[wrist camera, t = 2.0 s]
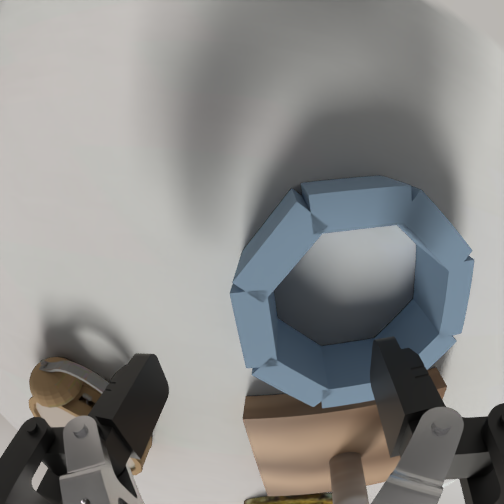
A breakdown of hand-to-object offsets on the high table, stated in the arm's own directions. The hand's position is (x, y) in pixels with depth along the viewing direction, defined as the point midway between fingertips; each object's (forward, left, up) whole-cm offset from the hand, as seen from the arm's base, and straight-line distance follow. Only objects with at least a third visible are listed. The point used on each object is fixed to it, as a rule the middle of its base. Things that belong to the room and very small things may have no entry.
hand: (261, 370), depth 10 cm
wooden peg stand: (+14, +4, -5) cm, 15 cm away
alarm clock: (+10, -16, -6) cm, 19 cm away
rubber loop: (0, +4, -5) cm, 7 cm away
